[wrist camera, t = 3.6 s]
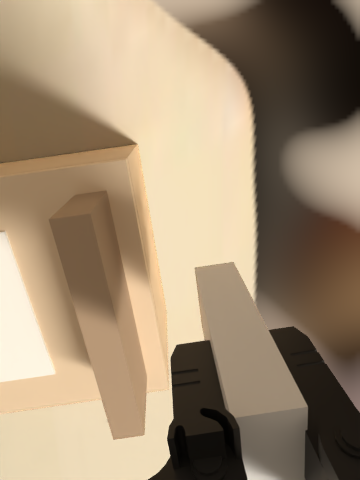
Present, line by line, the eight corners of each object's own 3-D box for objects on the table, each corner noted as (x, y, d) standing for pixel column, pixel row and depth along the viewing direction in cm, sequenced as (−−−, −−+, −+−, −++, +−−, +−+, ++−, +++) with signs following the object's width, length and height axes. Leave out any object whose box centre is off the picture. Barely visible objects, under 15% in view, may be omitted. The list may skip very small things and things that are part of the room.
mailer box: (-39, 340, 22) (-108, 418, 16) (-115, 179, 18) (-241, 209, 12) (166, 311, 22) (168, 378, 16) (137, 144, 18) (127, 157, 12)
